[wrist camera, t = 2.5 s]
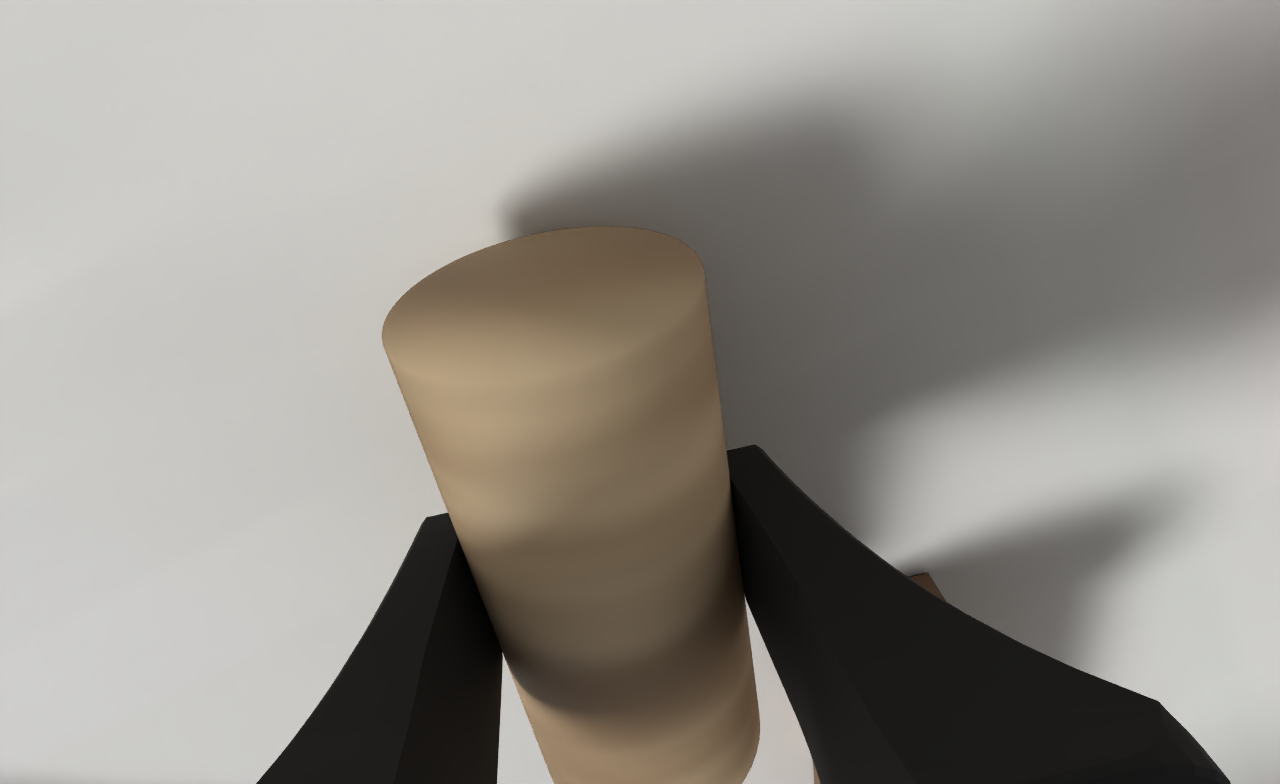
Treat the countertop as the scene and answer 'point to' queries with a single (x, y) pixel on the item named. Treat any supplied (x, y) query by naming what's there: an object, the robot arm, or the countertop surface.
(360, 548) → the countertop surface
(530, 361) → the roller
